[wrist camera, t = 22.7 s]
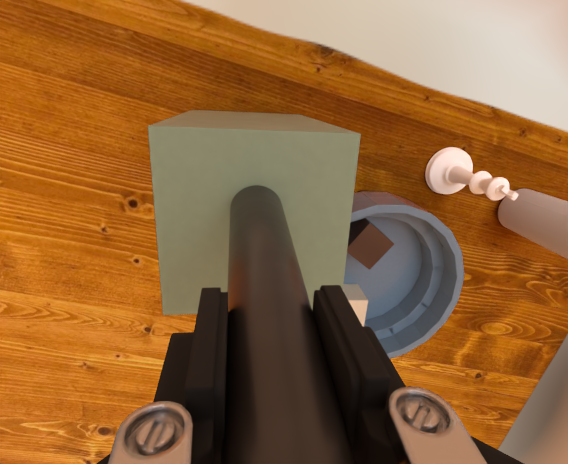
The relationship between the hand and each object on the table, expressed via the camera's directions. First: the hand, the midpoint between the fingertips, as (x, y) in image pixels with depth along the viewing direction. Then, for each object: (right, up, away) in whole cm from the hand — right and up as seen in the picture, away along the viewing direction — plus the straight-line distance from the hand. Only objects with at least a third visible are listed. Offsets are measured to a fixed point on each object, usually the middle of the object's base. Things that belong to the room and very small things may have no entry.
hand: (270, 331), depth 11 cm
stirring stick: (-1, +4, +7) cm, 8 cm away
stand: (-3, +9, +25) cm, 27 cm away
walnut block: (+8, +3, +28) cm, 29 cm away
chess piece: (+18, +10, +27) cm, 34 cm away
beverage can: (+26, +6, +30) cm, 40 cm away
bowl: (+9, -1, +30) cm, 31 cm away
